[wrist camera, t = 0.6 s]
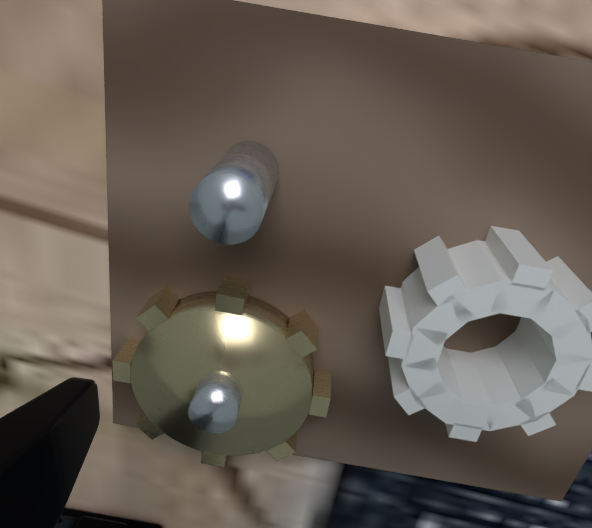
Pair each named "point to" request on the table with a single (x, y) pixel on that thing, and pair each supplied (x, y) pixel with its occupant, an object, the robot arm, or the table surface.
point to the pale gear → (497, 360)
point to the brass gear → (224, 372)
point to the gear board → (347, 200)
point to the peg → (235, 193)
